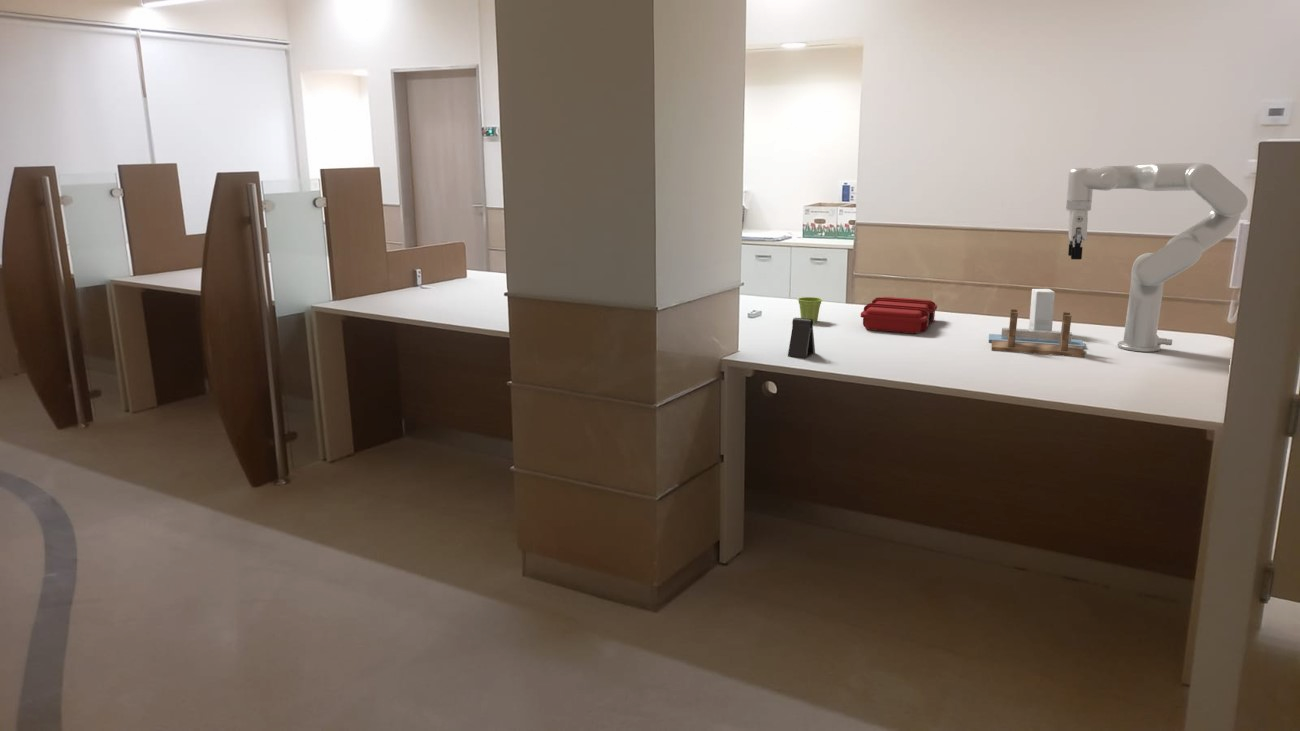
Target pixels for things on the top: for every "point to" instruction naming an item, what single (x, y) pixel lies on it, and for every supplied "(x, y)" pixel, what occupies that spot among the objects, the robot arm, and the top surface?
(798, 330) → the phone stand
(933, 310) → the first aid kit
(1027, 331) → the aluminium rail
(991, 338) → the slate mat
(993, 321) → the top surface
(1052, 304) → the skincare box
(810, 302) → the plant pot
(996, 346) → the cradle stand
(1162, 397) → the top surface
